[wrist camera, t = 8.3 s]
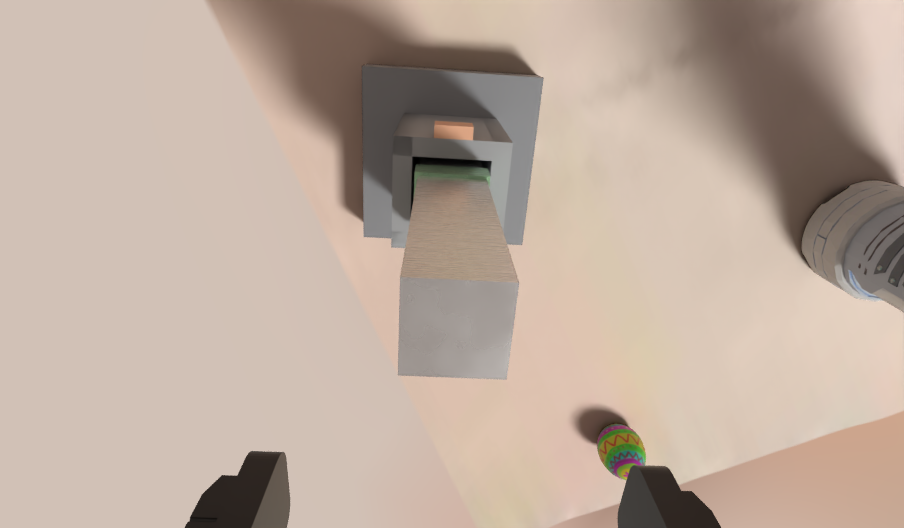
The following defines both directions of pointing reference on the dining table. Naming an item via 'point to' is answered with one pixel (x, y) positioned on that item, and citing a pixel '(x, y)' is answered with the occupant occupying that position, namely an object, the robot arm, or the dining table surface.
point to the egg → (620, 449)
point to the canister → (860, 242)
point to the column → (455, 277)
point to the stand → (445, 138)
